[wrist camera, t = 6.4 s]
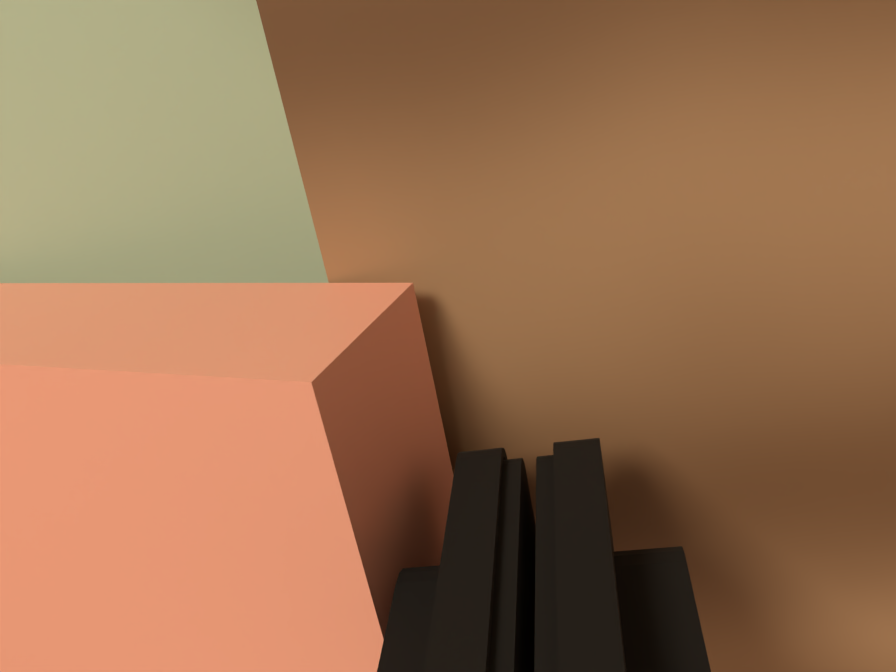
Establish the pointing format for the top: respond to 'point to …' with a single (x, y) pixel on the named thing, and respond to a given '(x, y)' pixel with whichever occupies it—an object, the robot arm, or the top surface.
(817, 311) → the board
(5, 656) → the coral block
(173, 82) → the sage mat
